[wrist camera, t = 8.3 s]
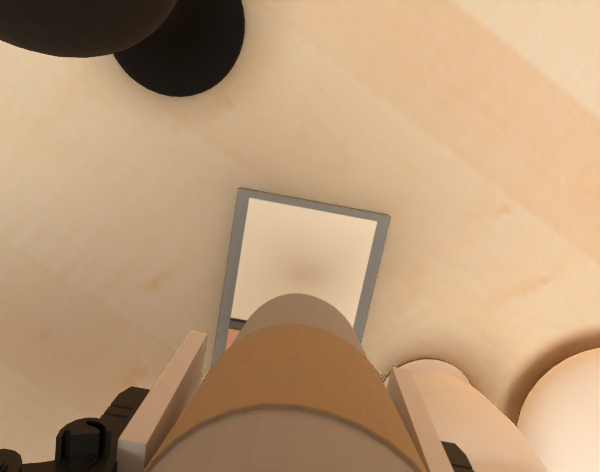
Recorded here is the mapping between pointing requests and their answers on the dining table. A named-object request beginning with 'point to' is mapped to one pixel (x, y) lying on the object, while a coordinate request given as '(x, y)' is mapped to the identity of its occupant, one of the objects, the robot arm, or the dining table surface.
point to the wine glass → (135, 37)
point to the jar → (471, 420)
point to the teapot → (566, 415)
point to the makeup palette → (298, 258)
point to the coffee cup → (290, 402)
